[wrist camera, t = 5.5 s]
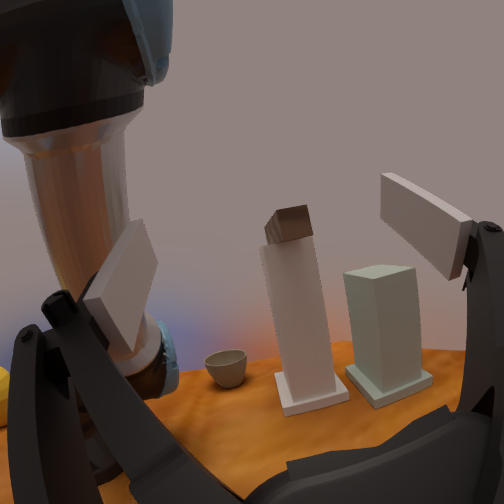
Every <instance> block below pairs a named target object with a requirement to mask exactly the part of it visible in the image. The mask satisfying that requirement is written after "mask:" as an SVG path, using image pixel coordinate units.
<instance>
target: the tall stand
mask: <svg viewBox="0 0 504 504" xmlns="http://www.w3.org/2000/svg"><path fill="white" fill-rule="evenodd" d="M259 251H260V255H261V260H262V266H263V270H264V275H265V281H266V285H267V291H268V296H269V301H270V306H271V311H272V316H273V321H274V326H275V331H276V336H277V341H278V347H279V352H280V357H281V362H282V368H283V371H282V372H278V373H274V374H275V379H276V384H277V388H278V392H279V396H280V400H281V404H282V409H283V413H284V417H287V416H291V415H296V414H300V413H304V412H308V411H312V410H316V409H320V408H324V407H327V406H331V405H334V404H338V403H341V402H344V401H348V400H349V391H348V390H347V388H346V387H345V386H344V384H343V383H342V382H341V380H340V379H339V378H338V376H337V375H336V374H335V372H334V366H333V358H332V351H331V343H330V336H329V330H328V323H327V317H326V310H325V304H324V298H323V292H322V286H321V280H320V275H319V270H318V264H317V259H316V253H315V248H314V243H313V238H312V237H307V238H302V239H297V240H292V241H287V242H281V243H276V244H271V245H266V246H262V247H260V248H259Z"/></svg>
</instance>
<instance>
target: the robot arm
mask: <svg viewBox="0 0 504 504" xmlns="http://www.w3.org/2000/svg"><path fill="white" fill-rule="evenodd" d="M172 27H173V0H0V116H1V126H2V134H3V139H4V140H5V141H6V142H8V143H9V144H11V145H13V146H14V147H16V148H17V149H19V150H20V151H21V152H22V153H23V154H24V160H25V166H26V171H27V176H28V181H29V186H30V191H31V195H32V199H33V203H34V208H35V212H36V215H37V219H38V222H39V226H40V229H41V233H42V236H43V239H44V242H45V245H46V249H47V252H48V254H49V257H50V260H51V263H52V266H53V268H54V271H55V274H56V276H57V279H58V281H59V284H60V286H61V289H62V290H60V291H57V292H55V293H53V294H52V295H51V296H49V297H48V298H47V299H46V300H45V301H44V303H43V304H42V306H41V310H42V312H43V314H44V315H45V317H46V318H47V320H48V321H49V323H50V324H51V326H52V327H53V329H50V330H48V331H45V332H43V333H42V332H41V330H40V329H39V327H38V326H37V325H35V324H31V325H28V326H26V327H24V328H23V329H22V330H20V332H19V334H18V335H17V337H16V339H15V343H14V349H13V352H12V355H11V361H12V363H11V371H10V380H9V392H8V410H7V441H8V459H9V470H10V478H11V486H12V492H13V498H14V504H103V501H102V498H101V495H100V493H99V490H98V487H97V485H99V484H102V483H104V482H107V481H109V480H111V479H112V478H114V477H115V476H117V475H118V474H119V473H120V472H121V471H122V470H124V472H125V473H126V475H127V476H128V478H129V479H130V482H131V483H130V485H129V489H130V492H131V493H132V495H133V497H134V498H135V500H136V501H137V502H138V503H139V504H504V231H503V230H502V228H501V227H500V226H498V225H496V224H494V223H493V222H488V221H482V222H479V223H476V222H475V221H473V220H472V219H471V218H470V217H468V216H467V215H465V214H464V213H462V212H461V211H459V210H457V209H456V208H454V207H453V206H451V205H449V204H447V203H446V202H445V201H443V200H441V199H439V198H438V197H436V196H434V195H433V194H431V193H429V192H427V191H426V190H424V189H422V188H420V187H418V186H417V185H415V184H413V183H411V182H409V181H407V180H405V179H404V178H402V177H400V176H398V175H396V174H393V173H382V174H381V211H380V212H381V213H380V218H381V219H382V220H383V221H384V222H385V223H387V224H388V225H389V226H390V227H391V228H392V229H394V230H395V231H396V232H397V233H398V234H399V235H401V236H402V237H403V238H404V239H405V240H406V241H407V242H408V243H410V244H411V245H412V246H413V247H414V248H415V249H416V250H417V251H418V252H419V253H420V254H422V255H423V256H424V257H425V258H426V259H427V260H428V261H429V262H430V263H431V264H432V265H433V266H434V267H435V268H436V269H437V270H438V271H439V272H440V273H441V274H442V275H443V276H444V277H445V278H446V279H447V280H448V281H450V280H452V279H455V278H457V277H460V275H461V271H462V267H463V264H464V265H465V266H466V267H467V268H468V272H467V275H466V279H465V282H464V285H463V289H462V291H464V290H465V288H466V287H467V339H466V354H465V365H464V374H463V382H462V389H461V396H460V401H459V404H458V407H457V409H456V411H455V412H450V411H449V409H448V407H447V405H444V406H442V407H440V408H438V409H436V410H434V411H432V412H430V413H428V414H426V415H424V416H422V417H420V418H418V419H416V420H414V421H413V422H411V423H410V424H409V425H407V426H406V427H405V428H404V429H402V430H401V431H400V432H398V433H397V434H395V435H394V436H393V437H391V438H390V439H389V440H387V441H386V442H384V443H383V444H381V445H379V446H377V447H371V448H362V449H352V450H340V451H329V452H326V453H322V454H318V455H314V456H310V457H306V458H302V459H297V460H292V461H287V462H286V464H287V469H288V470H286V471H283V472H281V473H279V474H277V475H275V476H273V477H271V478H270V479H268V480H267V481H265V482H264V483H262V484H261V485H259V486H258V487H257V488H256V489H255V490H254V491H252V492H251V493H250V494H249V496H248V497H247V498H246V499H245V500H244V499H242V498H241V497H240V496H239V495H237V494H236V493H235V492H234V491H232V490H231V489H230V488H229V487H227V486H226V485H225V484H224V483H222V482H221V481H220V480H219V479H218V478H216V477H215V476H214V475H213V474H212V473H211V472H210V471H209V470H208V469H206V468H205V467H204V466H203V465H202V464H201V463H200V462H199V461H198V460H197V459H196V458H195V457H194V456H193V455H192V454H191V453H190V452H189V451H188V450H187V449H186V448H185V447H184V446H183V445H182V444H181V443H180V442H179V441H178V440H177V439H176V438H175V437H174V436H173V435H172V434H171V432H170V431H169V430H168V429H167V428H166V427H165V426H164V425H163V424H162V422H161V421H160V420H159V419H158V418H157V417H156V416H155V414H154V413H153V412H152V411H151V410H150V408H149V407H148V406H147V405H146V404H145V402H144V400H149V399H153V398H154V399H158V398H160V397H162V396H163V395H167V394H170V393H172V392H174V391H175V390H176V389H177V387H178V384H179V369H178V365H177V363H176V361H177V358H176V353H175V348H174V345H173V341H172V338H171V335H170V333H169V330H168V328H167V326H166V324H164V322H162V321H159V320H155V319H154V318H153V317H152V316H151V315H150V314H149V313H148V312H147V311H145V310H144V308H145V304H146V301H147V298H148V294H149V290H150V287H151V284H152V281H153V277H154V274H155V271H156V268H157V265H158V261H157V259H156V256H155V254H154V251H153V248H152V245H151V242H150V240H149V237H148V234H147V231H146V228H145V225H144V223H143V220H142V219H139V220H135V221H131V222H130V218H129V209H128V198H127V186H126V171H125V150H124V130H125V128H126V127H127V125H128V124H129V123H130V122H131V121H132V120H133V119H134V118H135V117H136V116H137V115H138V114H139V112H141V111H142V109H143V100H144V87H145V86H146V85H148V86H151V87H152V86H154V85H155V84H158V83H160V82H162V81H163V80H164V78H165V76H166V74H167V71H168V66H169V53H170V52H171V44H172Z"/></svg>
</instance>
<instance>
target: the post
mask: <svg viewBox="0 0 504 504" xmlns="http://www.w3.org/2000/svg"><path fill="white" fill-rule="evenodd" d="M343 277H344V283H345V289H346V296H347V303H348V309H349V317H350V324H351V332H352V340H353V349H354V359H355V364H352V365H349V366H345V372H346V375H347V377H348V378H349V379H350V380H351V381H352V383H353V384H354V385H355V386H356V387H357V389H358V390H359V391H360V392H361V393H362V395H363V396H364V397H365V398H366V399H367V401H368V402H369V403H370V404H371V405H372V407H373V408H374V409H378V408H380V407H383V406H385V405H388V404H391V403H393V402H395V401H398V400H400V399H403V398H405V397H407V396H410V395H412V394H414V393H416V392H419V391H421V390H423V389H425V388H427V387H429V386H431V385H432V384H433V375H431V374H430V373H428V372H426V371H425V370H423V369H422V352H421V323H420V308H419V297H418V287H417V279H416V270H415V267H404V266H391V265H374V266H370V267H366V268H362V269H358V270H354V271H350V272H346V273H343Z"/></svg>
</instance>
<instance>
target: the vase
mask: <svg viewBox="0 0 504 504" xmlns="http://www.w3.org/2000/svg"><path fill="white" fill-rule="evenodd" d="M9 380H10V375H9V373H8V371H6V370H5V369H4V368H2V367H1V366H0V427H3V426H5V425H7V410H8V392H9Z"/></svg>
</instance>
